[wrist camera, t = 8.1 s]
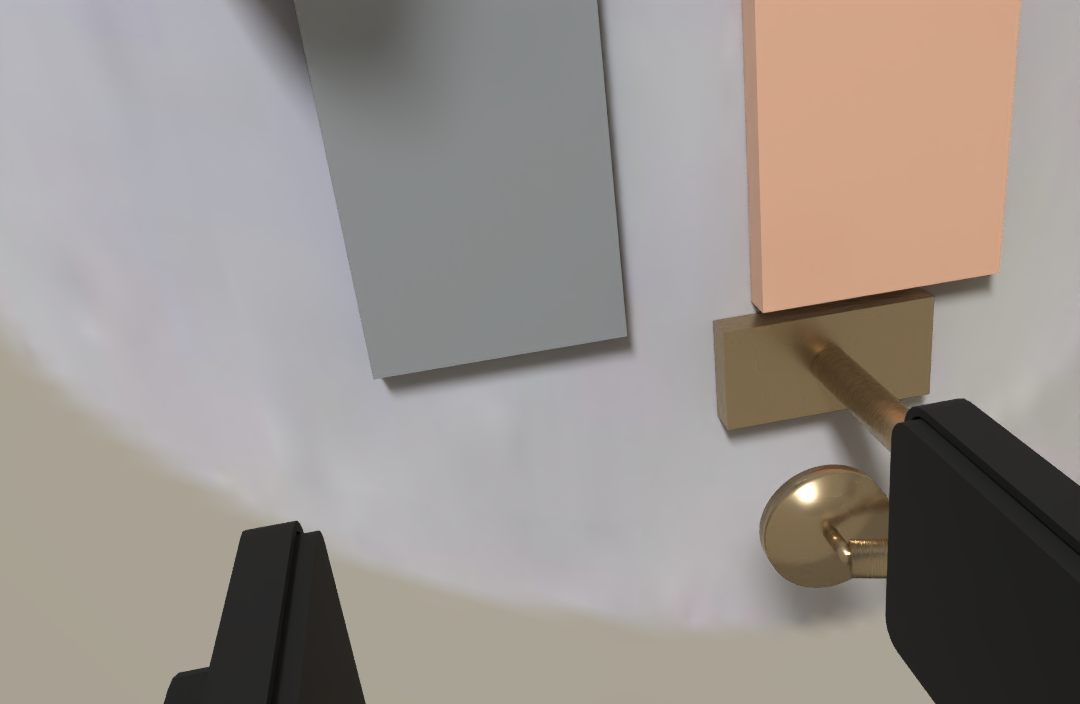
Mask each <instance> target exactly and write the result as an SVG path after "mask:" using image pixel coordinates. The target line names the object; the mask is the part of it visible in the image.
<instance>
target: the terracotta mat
mask: <svg viewBox="0 0 1080 704" xmlns="http://www.w3.org/2000/svg"><path fill="white" fill-rule="evenodd" d="M1020 9H1021V0H742V20H743V51H744V82H745V113H746V144H747V175H748V206H749V238H750V269H751V300H752V303H753V304H754V305H755V306H756V307H757V308H758V309H759V310H760V311H761V312H763V313H767V312H773V311H779V310H785V309H791V308H796V307H802V306H808V305H814V304H820V303H826V302H832V301H838V300H844V299H849V298H855V297H861V296H867V295H873V294H879V293H885V292H891V291H896V290H902V289H908V288H914V287H920V286H926V285H932V284H938V283H943V282H949V281H955V280H961V279H967V278H973V277H979V276H985V275H991V274H996V273H1000V260H1001V248H1002V235H1003V223H1004V210H1005V197H1006V185H1007V172H1008V160H1009V147H1010V135H1011V122H1012V109H1013V97H1014V84H1015V72H1016V59H1017V46H1018V34H1019V21H1020Z"/></svg>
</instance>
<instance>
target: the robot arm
mask: <svg viewBox="0 0 1080 704" xmlns="http://www.w3.org/2000/svg"><path fill="white" fill-rule="evenodd" d="M886 624H887V629H888V633H889V636H890V639H891V641H892V643H893V645H894V647H895V649H896V650H897V652H898V653H899V655H900V656H901V657H902V659H903V660H904V662H905V663H906V664H907V665H908V667H909V668H910V670H911V671H912V672H913V674H914V675H915V676H916V678H917V679H918V680H919V682H920V683H921V685H922V686H923V687H924V689H925V690H926V691H927V693H928V694H929V696H930V697H931V698H932V700H933V701H934V702H935V704H1080V486H1079V485H1078V484H1077V483H1075V482H1074V481H1073V480H1071V479H1070V478H1069V477H1067V476H1066V475H1065V474H1063V473H1062V472H1061V471H1060V470H1058V469H1057V468H1056V467H1054V466H1053V465H1052V464H1050V463H1049V462H1048V461H1047V460H1045V459H1044V458H1043V457H1041V456H1040V455H1039V454H1037V453H1036V452H1035V451H1034V450H1032V449H1031V448H1030V447H1028V446H1027V445H1026V444H1024V443H1023V442H1022V441H1021V440H1019V439H1018V438H1017V437H1015V436H1014V435H1013V434H1011V433H1010V432H1009V431H1008V430H1006V429H1005V428H1004V427H1002V426H1001V425H1000V424H998V423H997V422H996V421H994V420H993V419H992V418H991V417H989V416H988V415H987V414H985V413H984V412H983V411H981V410H980V409H979V408H978V407H976V406H975V405H974V404H972V403H971V402H969V401H967V400H966V399H964V398H963V399H953V400H948V401H942V402H937V403H932V404H926V405H921V406H915V407H912V408H911V409H909V410H908V411H907V414H906V416H905V419H904V422H900V423H897V424H896V425H895V426H894V428H893V430H892V436H891V462H890V493H889V524H888V555H887V586H886ZM164 704H365V700H364V695H363V692H362V687H361V684H360V680H359V676H358V672H357V668H356V664H355V660H354V656H353V652H352V648H351V644H350V640H349V637H348V632H347V629H346V624H345V620H344V616H343V613H342V609H341V605H340V601H339V597H338V593H337V589H336V585H335V581H334V577H333V573H332V569H331V565H330V561H329V557H328V553H327V549H326V545H325V542H324V538H323V536H322V533H321V532H320V531H314V532H309V533H304V532H303V529H302V527H301V525H300V523H299V522H298V521H292V522H287V523H282V524H276V525H271V526H265V527H260V528H255V529H249V530H245V531H243V532H242V535H241V538H240V542H239V546H238V551H237V554H236V558H235V562H234V567H233V571H232V575H231V579H230V583H229V588H228V592H227V596H226V600H225V604H224V608H223V612H222V617H221V621H220V625H219V629H218V633H217V637H216V641H215V646H214V650H213V654H212V659H211V662H210V666H209V667H206V668H201V669H196V670H191V671H185V672H180V673H178V674H177V675H176V676H175V677H174V678H173V679H172V681H171V684H170V686H169V688H168V691H167V694H166V698H165V701H164Z"/></svg>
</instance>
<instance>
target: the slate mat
mask: <svg viewBox="0 0 1080 704" xmlns="http://www.w3.org/2000/svg"><path fill="white" fill-rule="evenodd" d="M294 5H295V10H296V15H297V19H298V24H299V29H300V33H301V38H302V43H303V48H304V52H305V57H306V62H307V67H308V71H309V76H310V81H311V86H312V90H313V95H314V100H315V104H316V109H317V114H318V119H319V123H320V128H321V133H322V138H323V142H324V147H325V152H326V156H327V161H328V166H329V171H330V175H331V180H332V185H333V190H334V194H335V199H336V204H337V209H338V213H339V218H340V223H341V227H342V232H343V237H344V242H345V246H346V251H347V256H348V261H349V265H350V270H351V275H352V279H353V284H354V289H355V294H356V298H357V303H358V308H359V313H360V317H361V322H362V327H363V332H364V336H365V341H366V346H367V350H368V355H369V360H370V365H371V369H372V374H373V379H379V378H385V377H391V376H397V375H403V374H408V373H414V372H420V371H426V370H432V369H438V368H444V367H450V366H455V365H461V364H467V363H473V362H479V361H485V360H491V359H497V358H502V357H508V356H514V355H520V354H526V353H532V352H538V351H544V350H550V349H555V348H561V347H567V346H573V345H579V344H585V343H591V342H597V341H602V340H608V339H614V338H620V337H626V336H627V328H626V317H625V306H624V295H623V284H622V273H621V262H620V250H619V239H618V228H617V217H616V206H615V195H614V184H613V173H612V162H611V151H610V139H609V128H608V117H607V106H606V95H605V84H604V73H603V62H602V51H601V40H600V28H599V17H598V6H597V0H294Z"/></svg>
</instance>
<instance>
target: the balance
mask: <svg viewBox="0 0 1080 704" xmlns="http://www.w3.org/2000/svg"><path fill="white" fill-rule="evenodd" d="M933 312H934V296H932V295H931V294H929V293H928V292H926V291H925V290H923V289H921V288H920V287H914V288H908V289H902V290H896V291H891V292H885V293H879V294H873V295H867V296H861V297H855V298H849V299H844V300H838V301H832V302H826V303H820V304H814V305H808V306H802V307H796V308H791V309H785V310H779V311H773V312H767V313H757V314H751V315H745V316H739V317H733V318H727V319H722V320H716V321H713V331H714V351H715V371H716V391H717V411H718V417H719V418H720V420H721V421H722V423H723V424H724V426H725V427H726V428H727V430H732V429H738V428H743V427H749V426H754V425H760V424H765V423H771V422H776V421H782V420H787V419H793V418H798V417H804V416H810V415H815V414H821V413H826V412H832V411H837V410H843V409H848V410H849V411H850V412H851V413H852V414H853V415H854V416H855V417H856V418H857V419H858V421H859V422H860V423H861V424H862V425H863V426H864V427H865V428H866V429H867V430H868V431H869V432H870V433H871V434H872V435H873V436H874V437H875V438H876V439H877V440H878V441H879V442H880V443H881V444H882V445H883V446H884V447H885V448H886V449H887V450H888V451H889V452H890V453H891V436H892V430H893V428H894V426H895V425H896V424H897V423H900V422H904V419H905V416H906V414H907V411H908V410H909V408H907V407H906V406H905V405H904V404H903V403H902V402H901V401H900V400H898V399H904V398H909V397H915V396H920V395H926V394H929V391H930V371H931V351H932V332H933ZM888 524H889V500H888V499H887V497H886V495H885V494H884V493H883V492H882V490H881V489H880V488H879V487H878V486H877V485H876V484H875V483H874V481H873V480H872V479H871V478H870V477H868V476H867V475H866V474H865V473H863V472H861V471H860V470H858V469H855V468H853V467H849V466H845V465H823V466H818V467H814V468H811V469H808V470H805V471H803V472H801V473H799V474H797V475H796V476H794V477H792V478H791V479H789V480H788V481H787V482H785V483H784V484H783V485H782V486H781V487H780V488H779V489H778V490H777V491H776V492H775V493H774V494H773V496H772V497H771V498H770V500H769V502H768V503H767V505H766V507H765V509H764V511H763V514H762V517H761V521H760V529H759V534H760V541H761V545H762V548H763V550H764V552H765V554H766V555H767V557H768V558H769V560H770V562H771V563H772V565H773V566H774V568H775V569H776V571H777V572H778V573H779V574H780V575H781V576H783V577H784V578H785V579H787V580H788V581H790V582H792V583H795V584H797V585H800V586H805V587H814V588H816V587H828V586H833V585H837V584H840V583H843V582H845V581H848V580H850V579H852V578H887V555H888Z"/></svg>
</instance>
